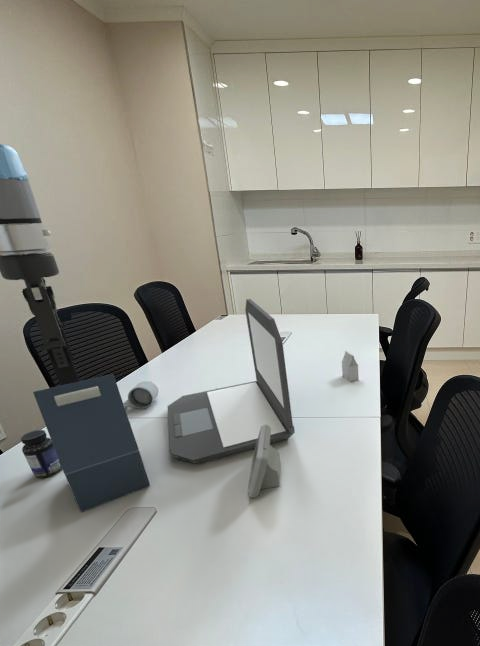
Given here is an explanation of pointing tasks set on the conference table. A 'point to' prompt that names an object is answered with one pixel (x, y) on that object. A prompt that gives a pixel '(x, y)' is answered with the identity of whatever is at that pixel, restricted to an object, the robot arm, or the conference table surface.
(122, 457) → the dark blue box
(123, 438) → the lid
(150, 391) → the ceramic mug
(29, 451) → the pill bottle
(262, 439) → the digital clock
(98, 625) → the conference table surface
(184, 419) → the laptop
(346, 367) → the grey house-shaped block
